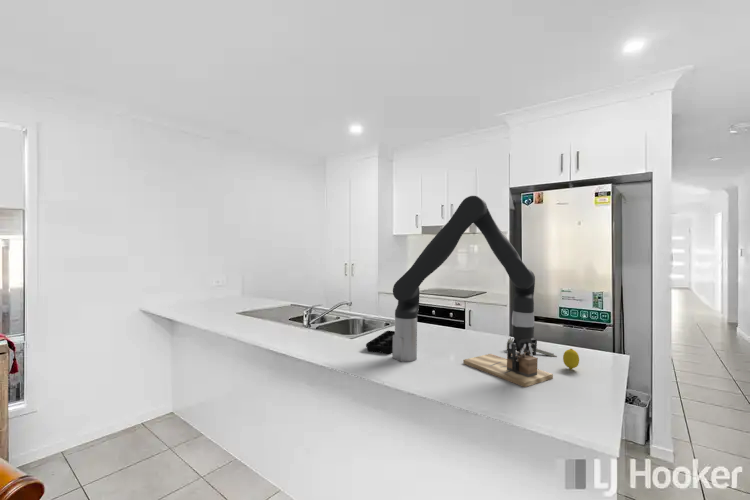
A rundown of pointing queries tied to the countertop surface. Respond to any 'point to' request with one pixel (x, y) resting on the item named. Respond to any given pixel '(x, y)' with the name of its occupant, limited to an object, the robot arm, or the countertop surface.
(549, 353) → the caliper
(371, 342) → the egg carton
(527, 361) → the block
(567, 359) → the lemon
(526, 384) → the plywood board
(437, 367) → the countertop surface
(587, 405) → the countertop surface
